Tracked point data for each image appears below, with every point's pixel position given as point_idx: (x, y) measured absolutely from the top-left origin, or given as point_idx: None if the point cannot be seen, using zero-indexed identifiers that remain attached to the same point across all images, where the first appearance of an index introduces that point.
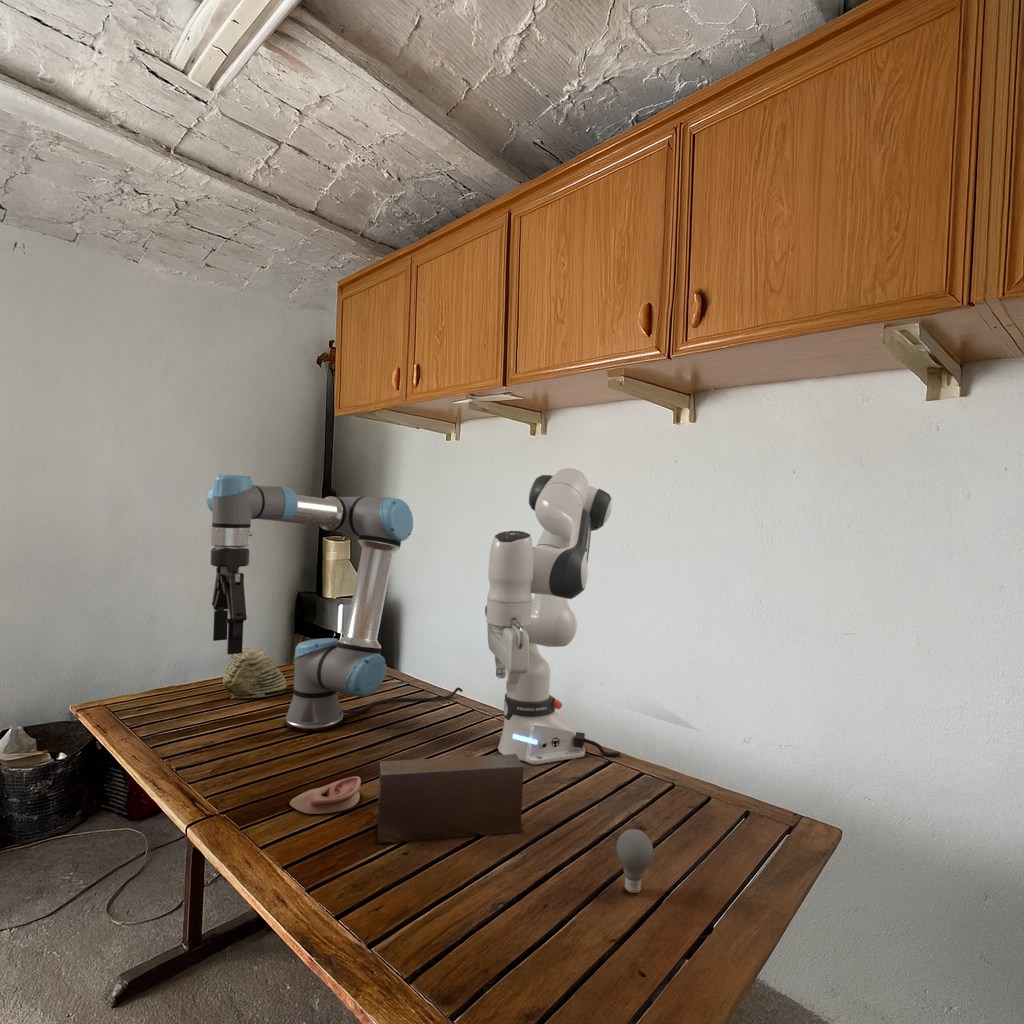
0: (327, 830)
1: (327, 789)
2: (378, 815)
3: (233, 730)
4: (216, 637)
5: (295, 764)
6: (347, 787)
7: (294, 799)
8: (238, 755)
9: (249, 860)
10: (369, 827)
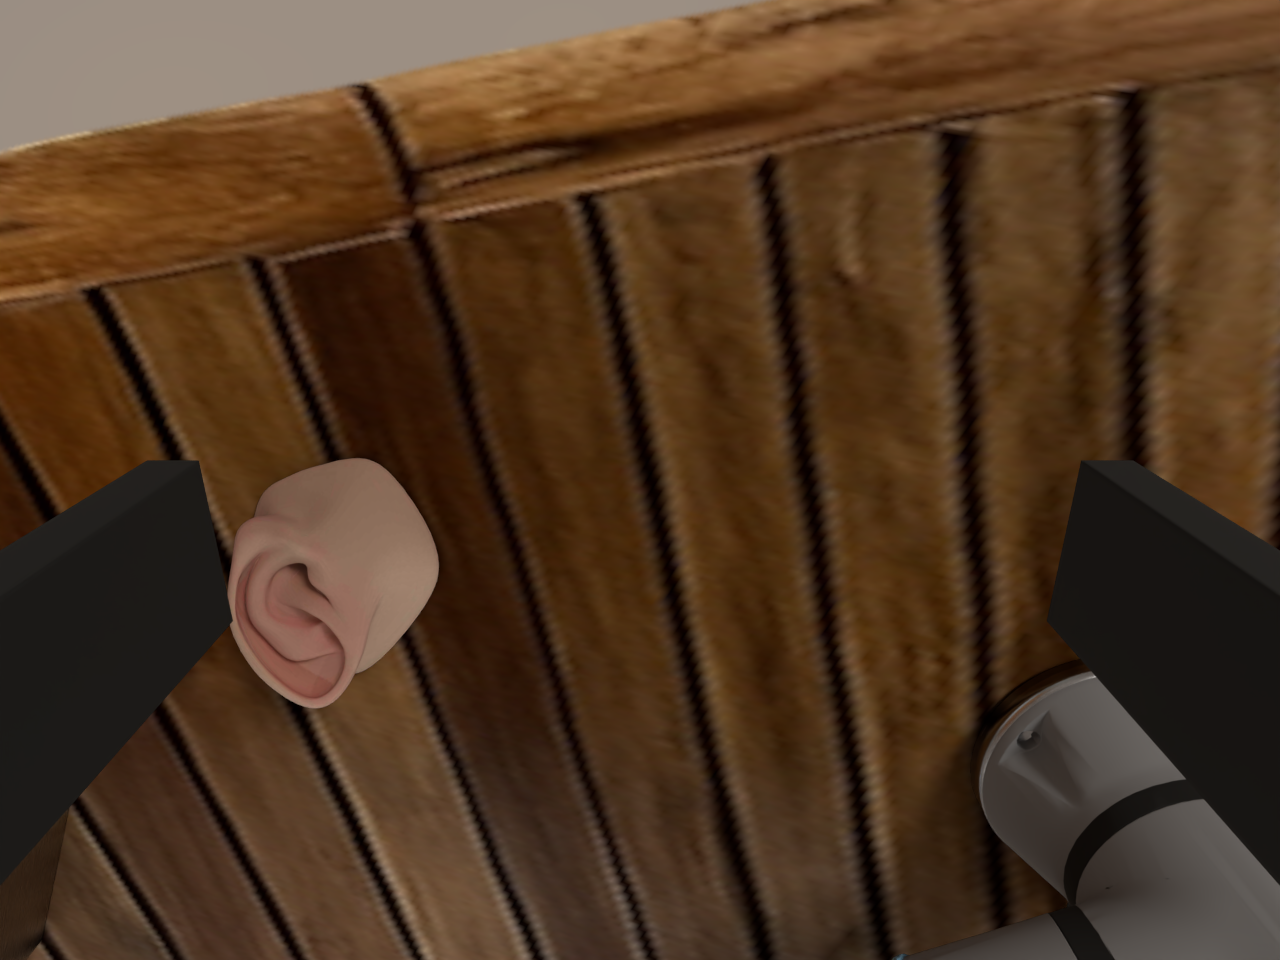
0: None
1: (324, 593)
2: None
3: (1251, 456)
4: (1101, 512)
5: (713, 573)
6: (298, 651)
7: (359, 480)
8: (940, 408)
9: (19, 235)
10: None
